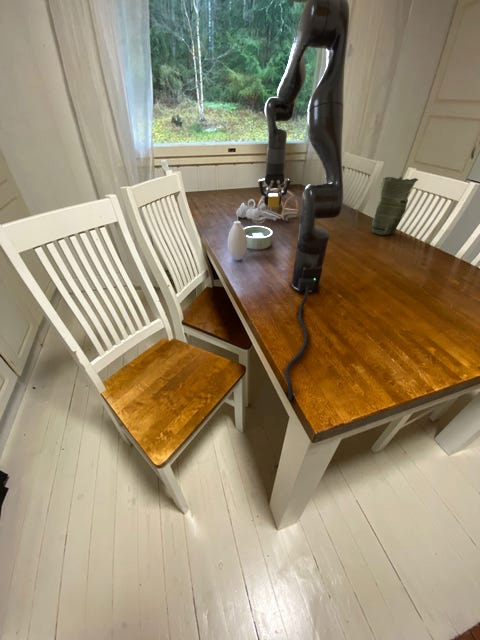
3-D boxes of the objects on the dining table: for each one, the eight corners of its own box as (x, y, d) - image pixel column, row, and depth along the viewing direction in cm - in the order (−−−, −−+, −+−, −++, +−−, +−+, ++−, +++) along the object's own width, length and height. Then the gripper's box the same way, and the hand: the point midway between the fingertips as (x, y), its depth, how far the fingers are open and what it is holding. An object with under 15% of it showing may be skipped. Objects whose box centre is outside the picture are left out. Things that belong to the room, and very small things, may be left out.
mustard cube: (278, 207, 119) (279, 196, 116) (268, 207, 118) (269, 196, 116) (276, 204, 122) (277, 193, 120) (266, 204, 122) (266, 193, 119)
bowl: (274, 249, 120) (275, 237, 116) (243, 250, 118) (243, 238, 115) (267, 236, 130) (268, 225, 127) (239, 238, 129) (239, 226, 125)
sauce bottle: (230, 264, 108) (229, 219, 97) (226, 256, 114) (224, 212, 103) (249, 262, 110) (250, 217, 99) (243, 254, 116) (244, 210, 104)
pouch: (364, 230, 137) (381, 175, 121) (381, 226, 142) (399, 172, 126) (382, 238, 130) (403, 180, 114) (399, 233, 134) (421, 177, 118)
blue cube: (263, 246, 121) (264, 236, 118) (253, 247, 120) (253, 237, 117) (261, 242, 124) (261, 232, 121) (251, 243, 123) (251, 233, 121)
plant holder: (305, 227, 144) (311, 195, 134) (240, 228, 139) (241, 195, 129) (289, 209, 165) (294, 180, 155) (232, 209, 160) (233, 179, 150)
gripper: (260, 163, 106) (258, 208, 117) (295, 162, 107) (290, 207, 118) (256, 159, 112) (255, 203, 122) (290, 159, 113) (285, 202, 124)
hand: (272, 204), depth 120 cm, fingers closed on mustard cube, 4 cm apart
